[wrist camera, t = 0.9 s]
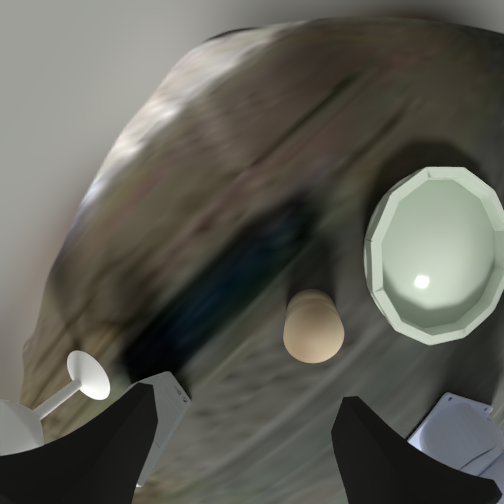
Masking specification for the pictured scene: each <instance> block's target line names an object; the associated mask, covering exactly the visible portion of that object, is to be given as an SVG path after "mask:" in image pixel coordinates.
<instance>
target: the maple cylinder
mask: <svg viewBox="0 0 504 504" xmlns="http://www.w3.org/2000/svg"><path fill="white" fill-rule="evenodd" d="M343 339H344V329H343V325H342V323H341V320H340V318H339V315H338V312H337V310H336V307H335V305H334V302H333V300H332V299H331V297H330V296H329V295H328V294H326V293H325V292H323V291H321V290H318V289H305V290H302V291H300V292H298V293H297V294H295V295H294V296H293V297H292V298H291V300H290V301H289V303H288V306H287V311H286V320H285V328H284V344H285V346H286V349H287V350H288V352H289V353H290V354H291V355H292V356H293V357H295V358H296V359H298V360H300V361H303V362H307V363H318V362H322V361H325V360H327V359H329V358H331V357H332V356H333V355H334V354H336V352H337V351H338V350H339V349H340V347H341V345H342V343H343Z"/></svg>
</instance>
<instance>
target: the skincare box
mask: <svg viewBox="0 0 504 504" xmlns="http://www.w3.org/2000/svg"><path fill="white" fill-rule="evenodd" d="M138 382H140V383H146V384H151V385H153V387H154V395H155V402H156V409H157V415H158V425H157V429H156V433H155V437H154V441H153V444H152V446H151V449H150V452H149V454H148V457H147V459H146V462H145V464H144V467H143V469H142V472H141V474H140V477H139V479H138V482H137V485H136V487H142V486H143V485H144V483H145V481H146V480H147V478H148V476H149V475H150V473H151V471H152V470H153V468H154V466H155V465H156V463H157V461H158V460H159V458H160V456H161V454H162V453H163V451H164V449H165V448H166V446H167V444H168V443H169V441H170V439H171V437H172V436H173V434H174V432H175V431H176V429H177V427H178V425H179V424H180V422H181V420H182V419H183V417H184V415H185V413H186V412H187V410H188V408H189V406H190V405H191V400H190V399H189V397H188V396H187V394H186V393H185V391H184V390H183V389H182V387H181V386H180V384H179V383H178V381H177V380H176V379H175V377H174V376H173V375H172V373H171V372H170V371H169V372H167V371H166V372H163V373H160V374H157V375H154V376H151V377H148V378H146V379H143V380H141V381H138ZM138 382H136V383H138ZM136 383H134V384H132V385H130V386H129V387H128V388H127V390H126V391H125V392H124V393H123V394H122V395H124V394H125V393H126V392H127V391H128V390H129V389H130V388H132V387H133V386H134V385H135V384H136ZM122 395H121V396H122ZM121 396H120V397H121ZM120 397H119V398H120ZM119 398H118V399H119ZM118 399H117V400H118ZM117 400H116V401H117Z"/></svg>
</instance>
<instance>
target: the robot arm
mask: <svg viewBox="0 0 504 504" xmlns="http://www.w3.org/2000/svg"><path fill="white" fill-rule="evenodd" d="M492 409H493V407H492V406H490V405H487V404H484V403H480V402H477V401H474V400H471V399H468V398H465V397H461V396H458V395H455V394H452V393H449V392H447V393H445V394H444V395H443V396H442V397H441V399H440V400H439V401H438V403H437V404H436V406H435V407H434V408H433V409H432V411H431V412H430V413H429V415H428V416H427V417H426V418H425V420H424V421H423V422H422V423H421V425H420V426H419V427H418V428H417V429H416V430H415V432H414V433H413V434H412V435H411V436H410V437H409V439H408V440H407V441H406V440H405V439H404V438H402V437H401V436H400V435H399V434H397V433H396V432H395V431H394V430H393V429H392V428H391V427H389V426H388V425H387V424H386V423H385V422H384V421H383V420H382V419H381V418H380V417H379V416H378V415H377V414H376V413H375V412H374V411H373V410H372V409H371V408H370V407H369V406H367V405H366V404H365V403H364V402H363V401H362V400H361V399H360V398H359V397H358V396H354V397H343V400H342V403H341V406H340V409H339V412H338V414H337V417H336V420H335V423H334V425H333V428H332V430H331V434H332V442H333V448H334V454H335V457H336V460H337V464H338V467H339V471H340V474H341V477H342V480H343V484H344V487H345V490H346V494H347V498H348V502H349V504H504V434H503V433H502V431H501V430H500V429H499V428H498V426H497V425H496V424H495V422H494V421H493V420H492V419H491V417H490V416H489V414H490V413H491V411H492ZM157 425H158V415H157V409H156V402H155V395H154V387H153V385H151V384H146V383H140V382H138V383H136V384H135V385H134V386H133V387H132V388H130V389H129V390H128V391H127V392H126V393H125V394H124V395H122V396H121V397H120V398H119V399H118V400H117V401H115V402H114V403H113V404H112V405H111V406H109V407H108V408H107V409H106V410H104V411H103V412H102V413H100V414H99V415H98V416H96V417H95V418H93V419H92V420H91V421H89V422H88V423H86V424H85V425H83V426H82V427H80V428H78V429H77V430H75V431H73V432H72V433H70V434H68V435H66V436H64V437H62V438H60V439H57V440H55V441H53V442H50V443H48V444H46V445H43V446H40V447H37V448H34V449H31V450H27V451H24V452H20V453H15V454H9V455H3V456H0V504H131V503H132V499H133V495H134V491H135V488H136V485H137V482H138V479H139V477H140V474H141V472H142V469H143V467H144V464H145V462H146V459H147V457H148V454H149V452H150V449H151V446H152V444H153V441H154V437H155V433H156V429H157Z"/></svg>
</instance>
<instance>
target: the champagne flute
mask: <svg viewBox="0 0 504 504" xmlns="http://www.w3.org/2000/svg"><path fill="white" fill-rule="evenodd" d="M67 366H68V371H69V374H70V376H71V378H72V380H73V381H72V382H70V383H69V384H68V385H66V386H65V387H64V388H62V389H61V390H60V391H58V392H57V393H56V394H54V395H53V396H52V397H50V398H49V399H48V400H46V401H45V402H44V403H42V404H41V405H40V406H38V407H37V408H36V409H34V410H33V411H32V410H31V409H29V408H27V407H25V406H23V405H20V404H18V403H15V402H13V401H8V400H0V456H3V455H9V454H15V453H20V452H24V451H27V450H31V449H34V448H37V447H40V446H43V445H44V440H43V432H42V425H41V422H40V420H41V419H42V418H44V417H45V416H46V415H47V414H49V413H50V412H51V411H52V410H54V409H55V408H56V407H57V406H59V405H60V404H61V403H62V402H64V401H65V400H66V399H67V398H69V397H70V396H71V395H72V394H74V393H75V392H76V391H77V390H79V389H80V390H81V391H82V392H83V393H84V394H86V395H87V396H89V397H91V398H93V399H97V400H102V399H105V398H106V397H107V396H108V395H109V392H110V384H109V380H108V377H107V375H106V373H105V371H104V370H103V368H102V367H101V365H100V364H99V363H98V362H97V361H96V360H95V359H94V358H93V357H92V356H90V355H89V354H87V353H85V352H83V351H73V352H71V353H70V354H69V356H68V360H67Z"/></svg>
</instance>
